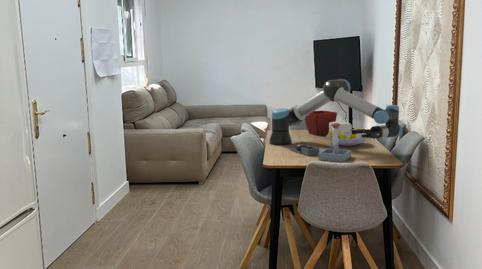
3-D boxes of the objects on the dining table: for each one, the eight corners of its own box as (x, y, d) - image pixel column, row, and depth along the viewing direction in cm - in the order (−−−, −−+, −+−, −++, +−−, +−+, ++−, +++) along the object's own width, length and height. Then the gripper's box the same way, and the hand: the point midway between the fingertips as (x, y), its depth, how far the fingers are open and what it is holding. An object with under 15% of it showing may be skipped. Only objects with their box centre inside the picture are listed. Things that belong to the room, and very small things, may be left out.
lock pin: (329, 157, 274) (330, 123, 271) (332, 155, 278) (332, 122, 275) (338, 157, 272) (338, 124, 269) (340, 156, 276) (341, 123, 273)
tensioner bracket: (290, 150, 301) (290, 144, 300) (303, 149, 304) (303, 143, 304) (307, 156, 283) (307, 149, 282) (320, 154, 286) (320, 148, 286)
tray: (318, 159, 272) (318, 152, 271) (326, 155, 285) (326, 148, 285) (344, 162, 265) (344, 154, 265) (351, 157, 278) (351, 150, 278)
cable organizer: (330, 139, 340) (330, 123, 338) (328, 137, 350) (329, 121, 348) (351, 139, 338) (351, 123, 336) (349, 137, 348) (350, 121, 347)
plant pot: (302, 133, 372) (302, 111, 369) (323, 131, 380) (323, 110, 377) (316, 136, 355) (316, 113, 352) (337, 134, 363) (337, 112, 360)
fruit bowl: (337, 139, 339) (337, 124, 337) (373, 143, 322) (374, 127, 320) (317, 145, 317) (317, 128, 315) (354, 150, 300) (355, 132, 298)
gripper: (392, 141, 274) (362, 144, 266) (365, 135, 297) (336, 138, 289) (393, 128, 273) (362, 131, 265) (365, 123, 296) (336, 125, 288)
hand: (349, 134), depth 277 cm, fingers open, 13 cm apart
